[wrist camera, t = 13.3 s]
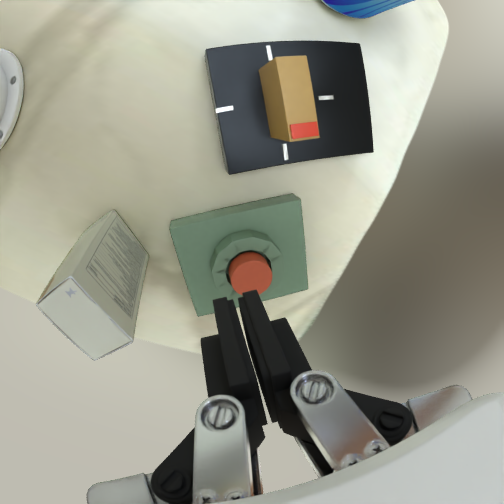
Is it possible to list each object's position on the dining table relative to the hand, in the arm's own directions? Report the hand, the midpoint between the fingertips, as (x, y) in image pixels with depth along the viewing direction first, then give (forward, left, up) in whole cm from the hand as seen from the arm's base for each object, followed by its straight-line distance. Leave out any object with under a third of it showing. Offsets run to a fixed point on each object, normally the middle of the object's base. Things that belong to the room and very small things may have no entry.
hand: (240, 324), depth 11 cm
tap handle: (+7, +8, -15) cm, 18 cm away
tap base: (+9, +8, -18) cm, 21 cm away
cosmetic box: (-10, -2, -18) cm, 21 cm away
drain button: (+2, -6, -14) cm, 15 cm away
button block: (+2, -6, -18) cm, 19 cm away
